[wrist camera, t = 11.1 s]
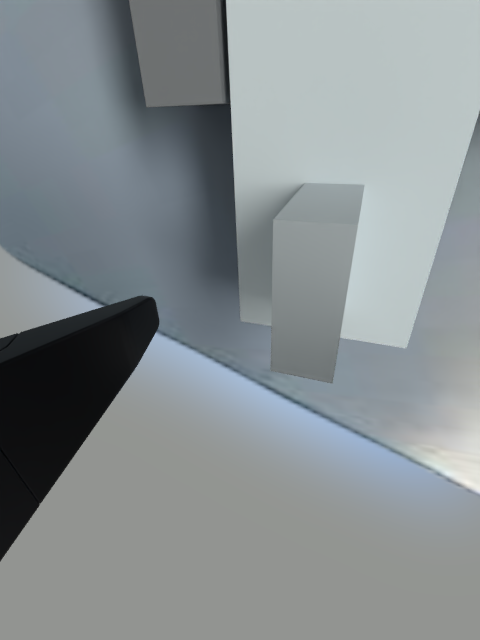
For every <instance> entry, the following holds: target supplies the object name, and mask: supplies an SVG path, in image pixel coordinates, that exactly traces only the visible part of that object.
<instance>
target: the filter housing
mask: <svg viewBox="0 0 480 640" xmlns="http://www.w3.org/2000/svg"><path fill="white" fill-rule="evenodd" d="M129 4H130V10H131V17H132V23H133V29H134V35H135V41H136V47H137V53H138V59H139V65H140V71H141V77H142V83H143V89H144V96H145V102H146V107H167V106H196V105H216V104H231V99H230V77H229V54H228V32H227V10H226V0H129Z"/></svg>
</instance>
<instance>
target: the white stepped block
mask: <svg viewBox="0 0 480 640" xmlns="http://www.w3.org/2000/svg"><path fill="white" fill-rule="evenodd" d="M226 10H227V32H228V54H229V77H230V99H231V121H232V143H233V165H234V187H235V209H236V232H237V254H238V276H239V298H240V320H241V321H242V322H248V323H254V324H261V325H267V326H271V371H274V372H279V373H284V374H289V375H293V376H298V377H303V378H308V379H313V380H318V381H323V382H327V383H333V377H334V371H335V365H336V359H337V353H338V347H339V340H340V338H346V339H352V340H358V341H364V342H370V343H377V344H383V345H389V346H395V347H401V348H407V345H408V342H409V338H410V335H411V332H412V329H413V325H414V322H415V319H416V316H417V312H418V309H419V306H420V303H421V299H422V296H423V293H424V290H425V286H426V283H427V280H428V277H429V273H430V270H431V267H432V264H433V260H434V257H435V254H436V251H437V248H438V244H439V241H440V238H441V235H442V231H443V228H444V225H445V222H446V218H447V215H448V212H449V209H450V205H451V202H452V199H453V196H454V192H455V189H456V186H457V183H458V179H459V176H460V173H461V170H462V166H463V163H464V160H465V157H466V153H467V150H468V147H469V144H470V140H471V137H472V134H473V131H474V128H475V124H476V121H477V118H478V115H479V111H480V0H226Z"/></svg>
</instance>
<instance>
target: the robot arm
mask: <svg viewBox="0 0 480 640" xmlns="http://www.w3.org/2000/svg"><path fill="white" fill-rule="evenodd" d="M158 327H159V316H158V311H157V307H156V302H155V300H154V298H152V297H148V296H137V297H134V298H131V299H128V300H124V301H121V302H118V303H114V304H111V305H108V306H105V307H101V308H98V309H95V310H92V311H89V312H85V313H82V314H79V315H76V316H72V317H69V318H66V319H62V320H59V321H56V322H53V323H49V324H46V325H43V326H40V327H37V328H33V329H30V330H27V331H24V332H21V333H20V334H13V335H10V336H7V337H4V338H0V561H1V560H2V558H3V557H4V555H5V554H6V553H7V551H8V550H9V548H10V547H11V545H12V544H13V543H14V541H15V540H16V538H17V537H18V535H19V534H20V533H21V531H22V529H23V528H24V527H25V525H26V524H27V523H28V521H29V520H30V518H31V517H32V515H33V514H34V513H35V511H36V510H37V508H38V507H39V505H40V504H39V503H41V502H42V501H43V499H44V498H45V496H46V495H47V494H48V492H49V491H50V489H51V488H52V487H53V485H54V484H55V482H56V481H57V479H58V478H59V477H60V475H61V474H62V472H63V471H64V470H65V468H66V467H67V465H68V464H69V462H70V461H71V460H72V458H73V457H74V455H75V454H76V452H77V451H78V450H79V448H80V447H81V445H82V444H83V442H84V441H85V440H86V438H87V437H88V435H89V434H90V432H91V431H92V429H93V428H94V427H95V425H96V424H97V423H98V421H99V419H100V418H101V417H102V415H103V414H104V413H105V411H106V410H107V408H108V407H109V405H110V404H111V403H112V401H113V400H114V398H115V397H116V395H117V394H118V393H119V391H120V390H121V388H122V387H123V385H124V384H125V383H126V381H127V380H128V378H129V377H130V375H131V374H132V372H133V371H134V370H135V368H136V367H137V365H138V363H139V362H140V360H141V358H142V356H143V354H144V353H145V351H146V349H147V347H148V345H149V344H150V342H151V340H152V338H153V336H154V335H155V333H156V331H157V329H158Z"/></svg>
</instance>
